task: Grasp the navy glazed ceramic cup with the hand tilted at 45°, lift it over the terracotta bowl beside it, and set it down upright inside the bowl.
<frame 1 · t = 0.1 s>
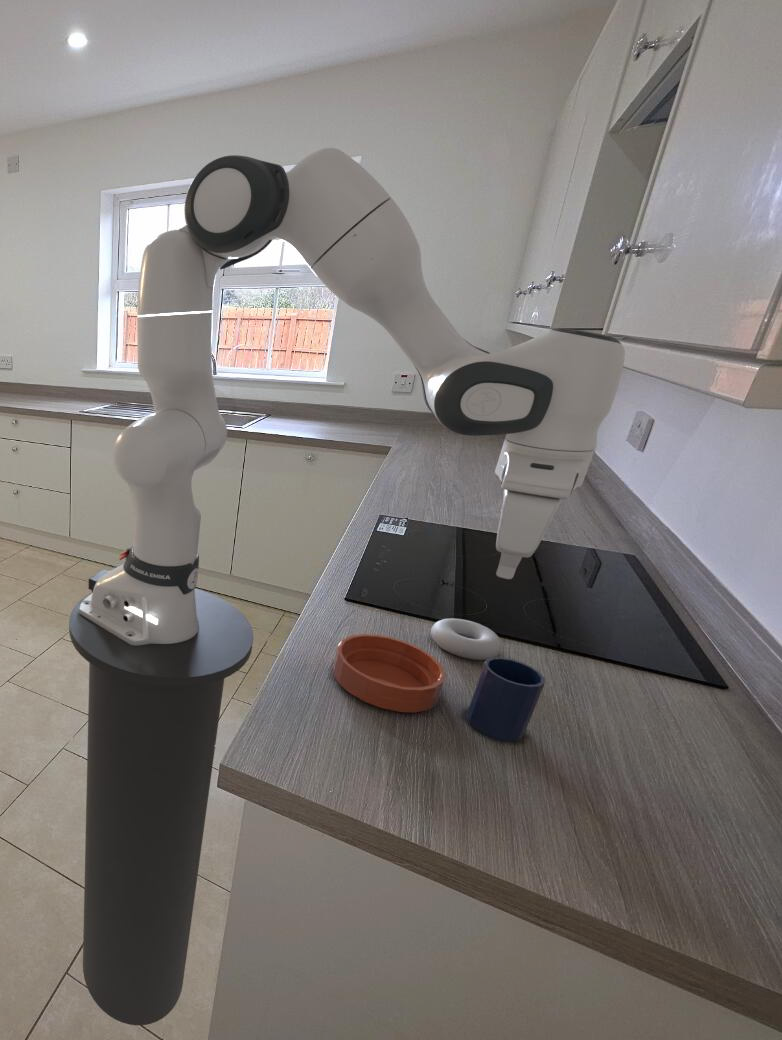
hand: (507, 564, 77), 21 cm above the worktop, tool pointing down, fingers open, 8 cm apart
bowl: (382, 684, 86), on the worktop
donut: (462, 647, 96), on the worktop
cup: (493, 725, 78), on the worktop
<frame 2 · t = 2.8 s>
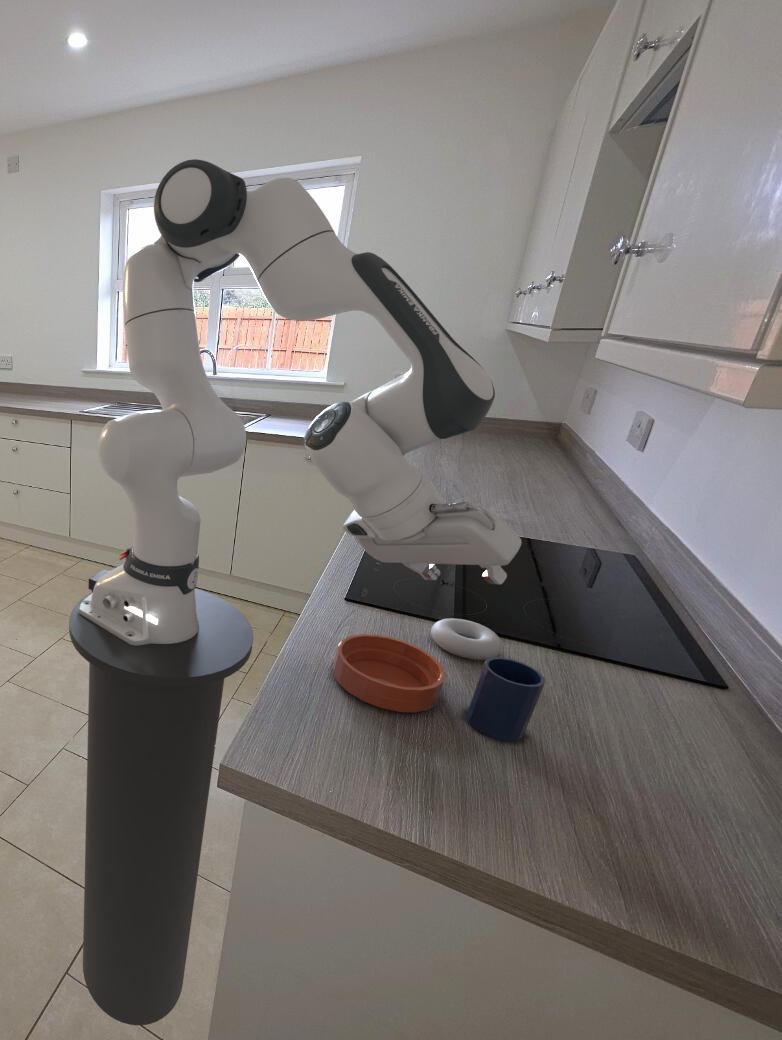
hand: (464, 578, 76), 20 cm above the worktop, tool tilted 45°, fingers open, 8 cm apart
nothing on the worktop moved.
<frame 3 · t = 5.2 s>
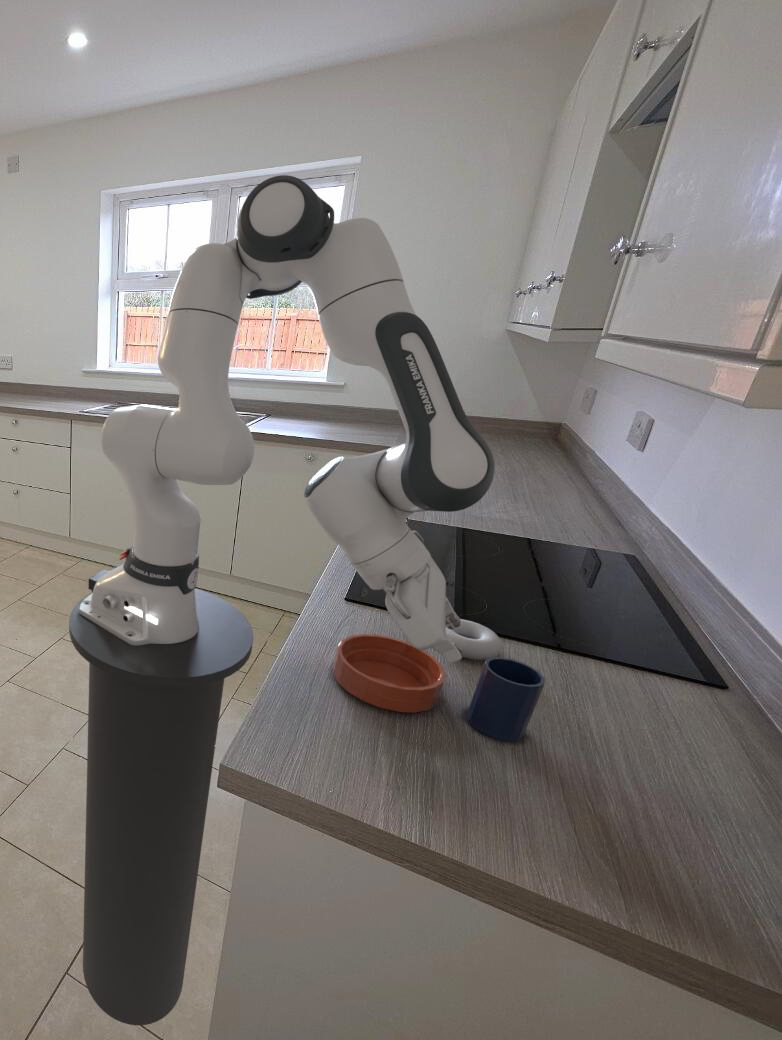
hand: (456, 641, 78), 11 cm above the worktop, tool tilted 45°, fingers open, 8 cm apart
nothing on the worktop moved.
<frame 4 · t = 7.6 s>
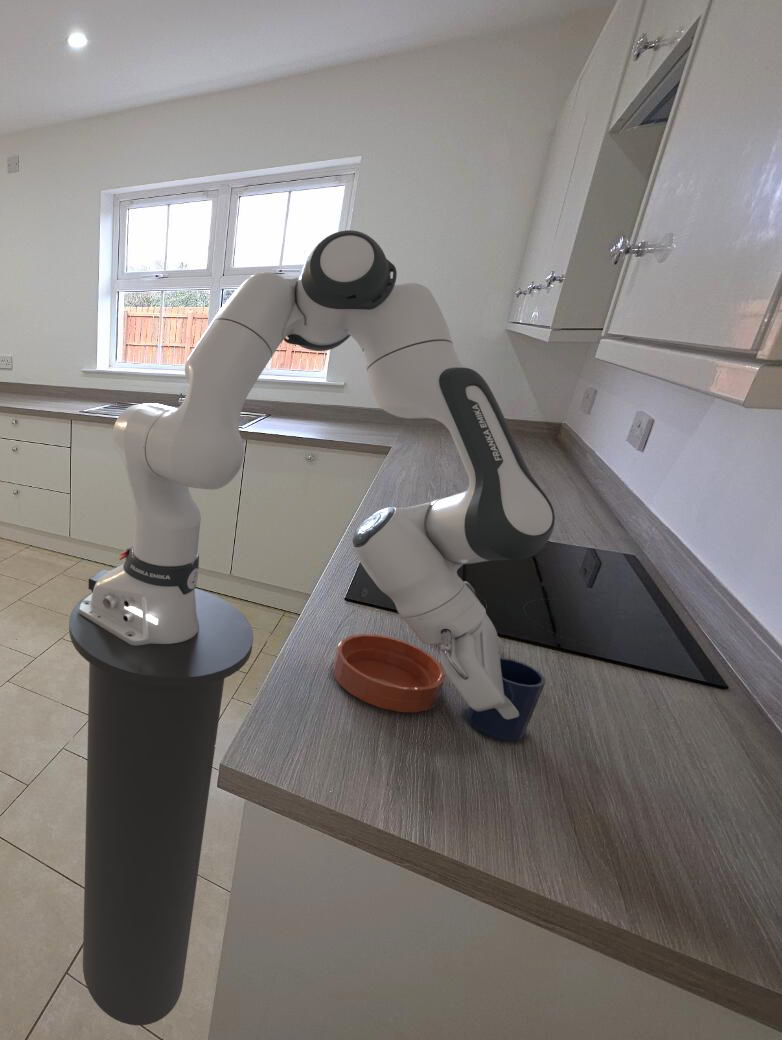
hand: (510, 698, 76), 5 cm above the worktop, tool tilted 45°, fingers closed on cup, 6 cm apart
cup: (494, 725, 78), on the worktop, touching gripper
everything else where it was.
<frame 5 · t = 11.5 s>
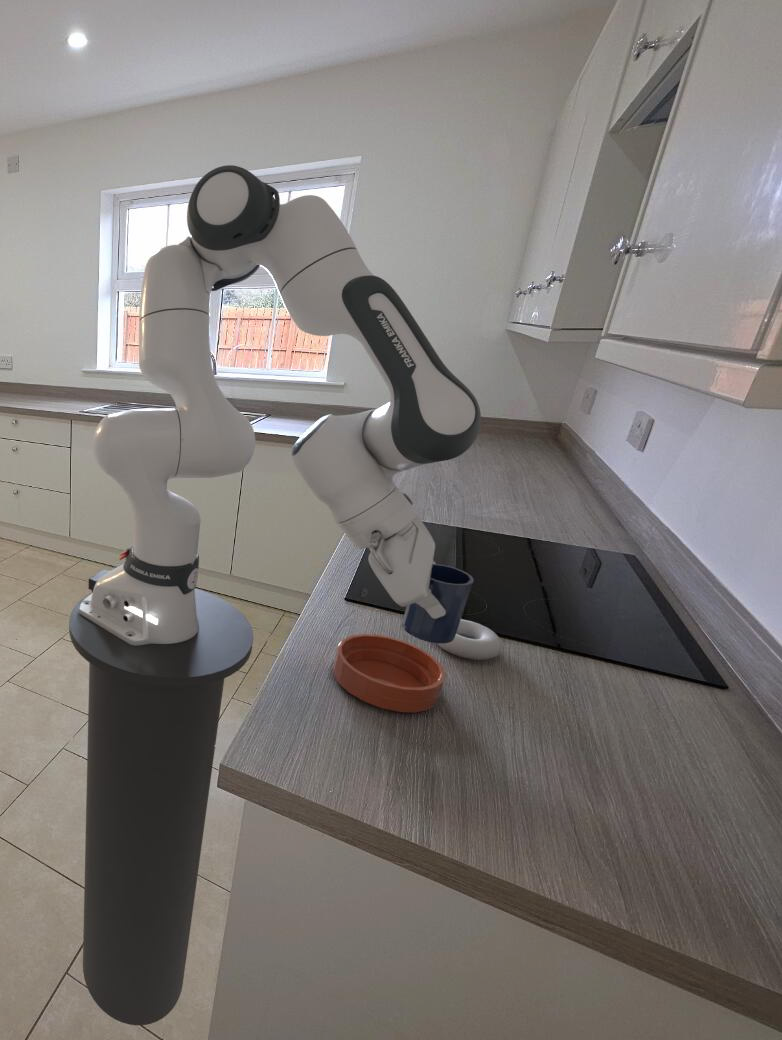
hand: (441, 602, 77), 16 cm above the worktop, tool tilted 45°, fingers closed on cup, 6 cm apart
cup: (427, 630, 79), point 11 cm above the worktop, touching gripper
everything else where it was.
when the fingers open (5 cm above the worktop, at t = 15.5 s): cup stays where it is, resting on bowl.
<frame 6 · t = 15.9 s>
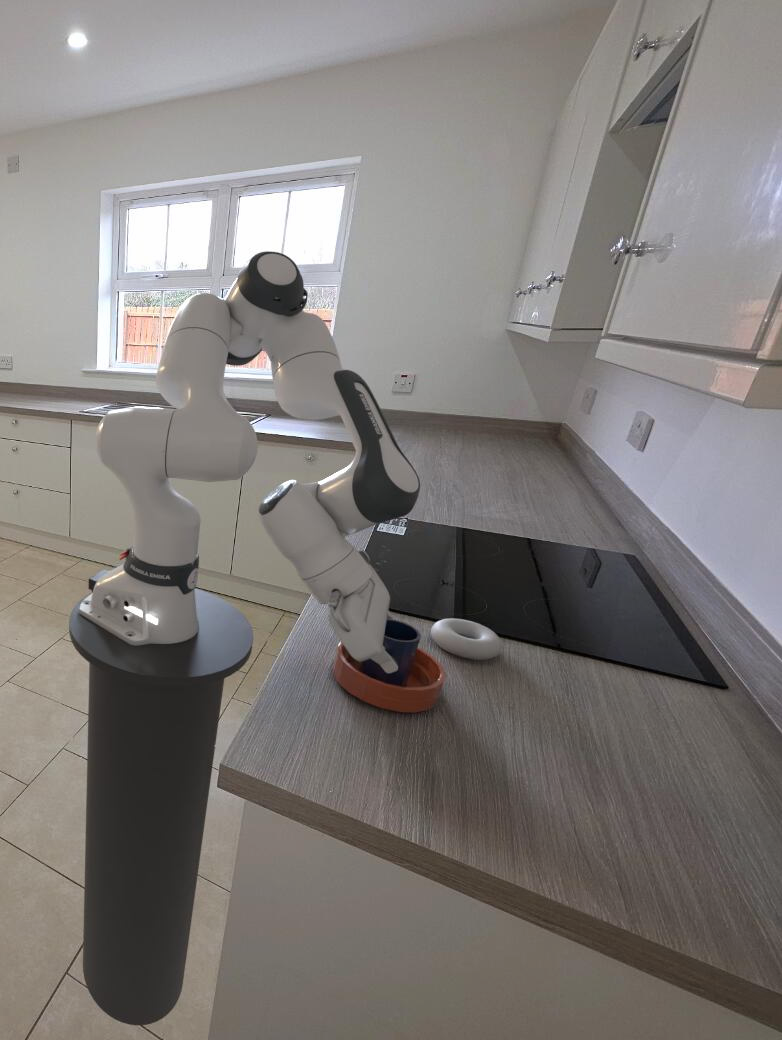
hand: (395, 653, 84), 6 cm above the worktop, tool tilted 45°, fingers open, 8 cm apart
cup: (382, 680, 86), point 1 cm above the worktop, touching bowl
everything else where it was.
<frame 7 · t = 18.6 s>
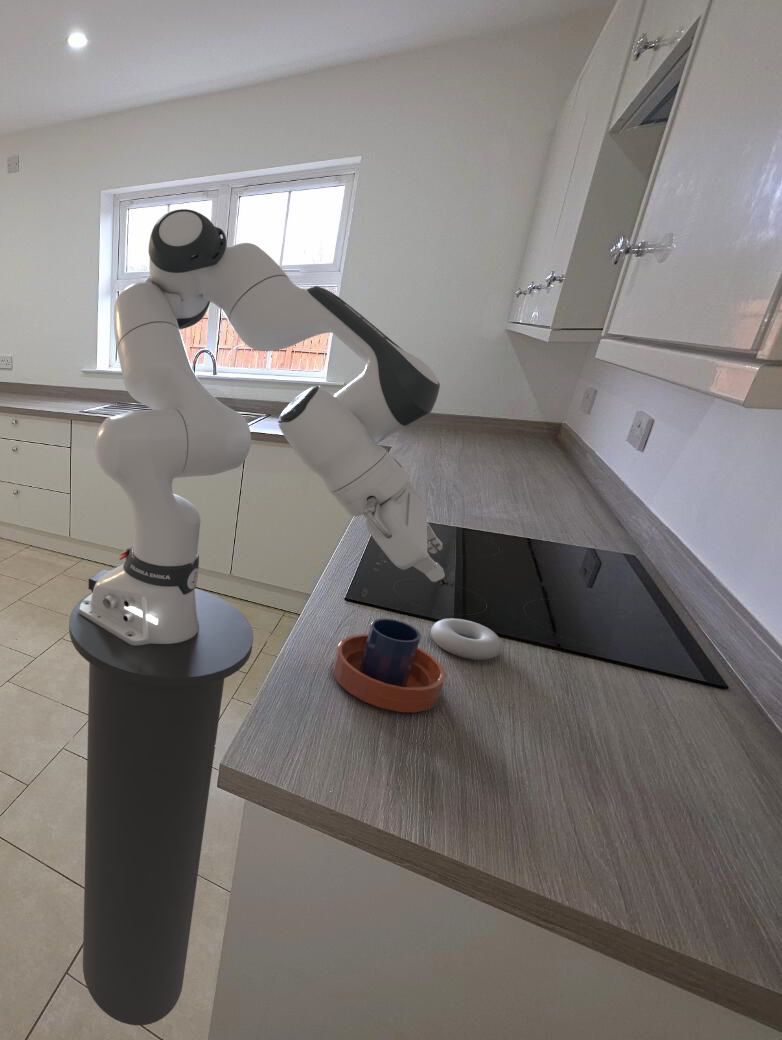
hand: (438, 563, 78), 21 cm above the worktop, tool tilted 45°, fingers open, 8 cm apart
nothing on the worktop moved.
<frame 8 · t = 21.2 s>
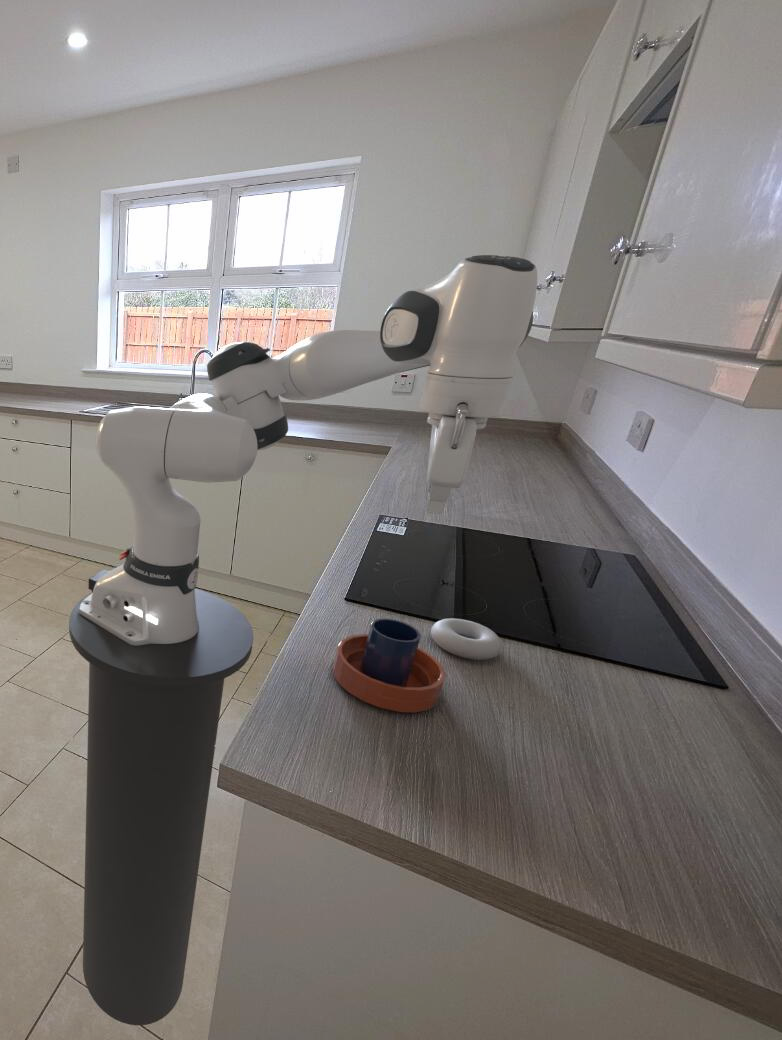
hand: (434, 501, 76), 29 cm above the worktop, tool pointing down, fingers open, 8 cm apart
nothing on the worktop moved.
at the end: cup inside the target area in the bowl (0.4 cm from its centre), point 0.6 cm above the bowl's base; cup tilted 0°; the gripper is holding nothing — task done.
